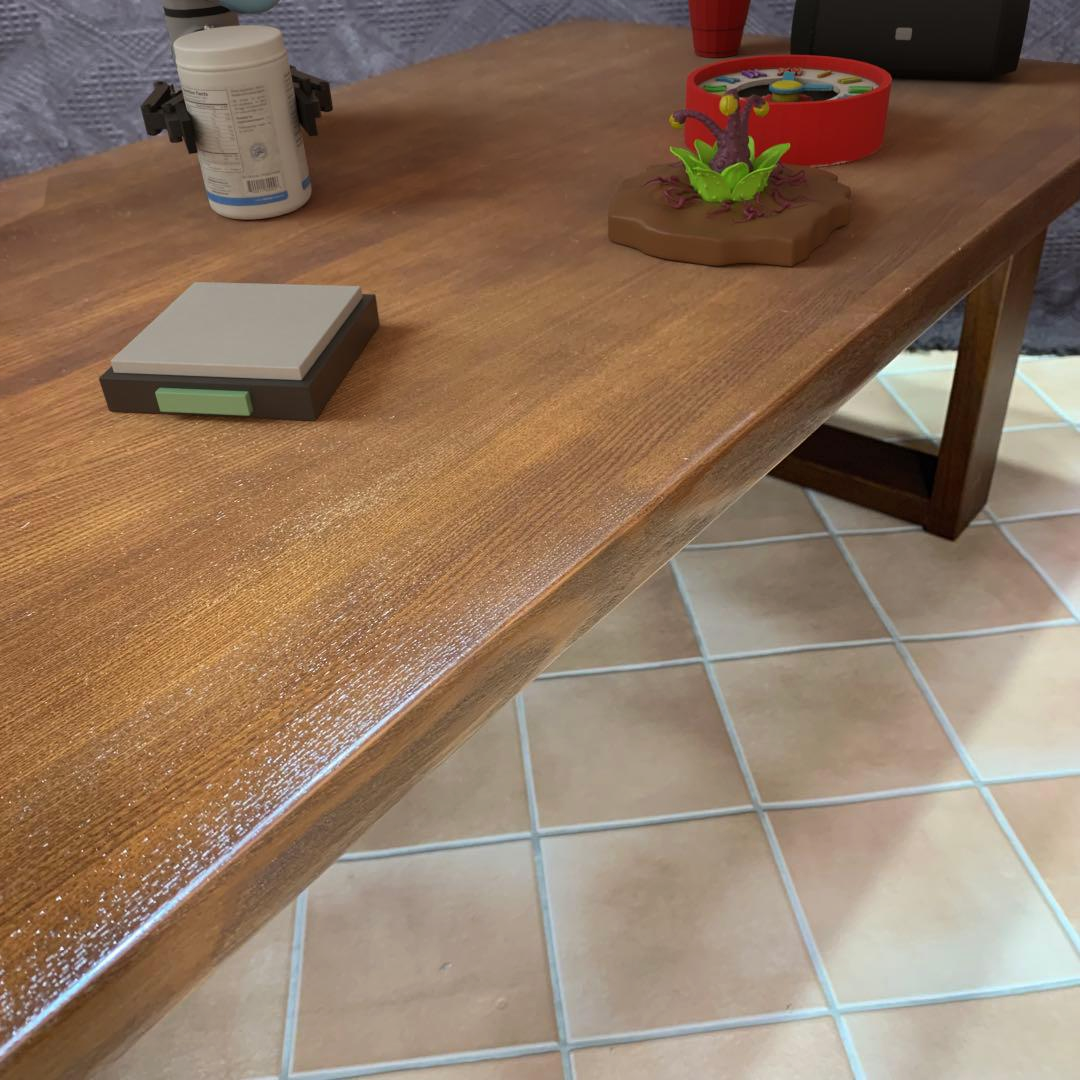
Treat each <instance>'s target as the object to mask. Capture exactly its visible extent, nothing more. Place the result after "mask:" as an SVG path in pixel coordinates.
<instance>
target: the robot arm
mask: <svg viewBox="0 0 1080 1080" xmlns="http://www.w3.org/2000/svg"><path fill="white" fill-rule="evenodd" d="M280 1H281V0H161V3H162V8H163V12H164V19H165V24H166V28H167V32H168V36H169V41H170V43H169V47H170V52H171V56H172V62H173V65H174V68H175V70H177V64H176V55H175V51H174V46H173V44H174V42H175V40H177V39H178V38H180V37H182V36H184V35H187V34H190V33H193V32H197V31H202V30H206V29H212V28H219V27H227V26H241V23H240V20H239V15H247V14H250V15H255V14H256V15H258V14H263V13H265V12H268V11H270V10H271V9H273V8H274V7H276V6H277V5H278V3H279V2H280ZM238 14H239V15H238ZM289 65H290V70H291V76H292V82H293V87H294V93H295V99H296V104H297V110H298V116H299V121H300V127H301V128H302V129H303V130H304V131H305V133H306V134H307V135H308V137H309V138H310V137H317V136H319V133H318V127H317V121H316V119H320V118H322V112H324V113H329V112H332V111H334V106H333V105H334V104H333V100H332V93H331V86H330V82H329V81H327V80H325V79H323V78H319V77H317V76H314V75H311V74H308V73H306V72H303V71H300V70H298V68H297V67H296V66H295V65H292V64H289ZM153 88H154V90H152V91H151V93H150V94H149V95H148V96H147V97H146V98H145V100H144V101H143V103H142V104H141V105H140V106H139V108H140V112H141V115H142V119H143V120H142V121H143V124H144V127H145V131H146V134H147V136H149V137H150V136H152V137H155V136H158V135H160V134H161V133H162V132H163V131H164V130H166V131H167V133H168V134H167V135H168V139H169V143H171V144H177V143H182V142H184V145H185V148H186V150H187V153H188V154H189V155H192V154H197V153H198V151H197V147H196V142H195V138H194V133H193V129H192V125H191V120H190V118H189V115H188V112H187V108H186V104H185V100H184V96H183V92H182V87H181V86H180V87H176V88H175V86H174V83H171V82H170V83H167V82H166V81H163V80H157V81H156V82H153Z"/></svg>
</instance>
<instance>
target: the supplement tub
mask: <svg viewBox="0 0 1080 1080" xmlns="http://www.w3.org/2000/svg"><path fill="white" fill-rule="evenodd" d="M283 36H284V35H283V32H282V31H281V30H280V29H279V28H277V27H274V26H269V25H258V24H243V25H241V24H240V26H227V27H219V28H212V29H206V30H202V31H197V32H193V33H190V34H187V35H184V36H182V37H180V38H178V39H177V40H175V42H174V44H173V46H174V51H175V55H176V64H177V69H176V70H177V74H178V78H179V84H180V88H181V87H182V92H183V96H184V100H185V104H186V108H187V112H188V115H189V118H190V120H191V125H192V129H193V133H194V138H195V142H196V147H197V151H198V153H196V154H197V158H198V162H199V166H200V171H201V174H202V178H203V183H204V187H205V191H206V195H207V199H208V203H209V206H210V208H211V209H212V210H213V211H214V212H215V213H216V214H218V215H219V216H222V217H224V218H228V219H234V220H246V221H247V220H248V221H249V220H262V219H270V218H275V217H279V216H283V215H286V214H287V215H288V214H289V213H293V212H294V211H297V210H298V209H301V208H302V207H303V206H304V205H306V203H307V202H308V201H309V199H310V198H311V195H312V184H311V178H310V177H311V176H310V172H309V166H308V160H307V157H306V156H307V155H306V149H305V144H304V138H303V133H302V126H301V124H300V121H299V116H298V110H297V104H296V99H295V93H294V87H293V82H292V76H291V70H290V65H291V64H290V61H289V56H288V52H287V47H286V46H285V41H284V37H283Z"/></svg>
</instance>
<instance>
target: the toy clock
mask: <svg viewBox="0 0 1080 1080" xmlns="http://www.w3.org/2000/svg"><path fill="white" fill-rule="evenodd" d="M892 81H893V78H891V76H890V74H889V73H888V72H887V71H885V70H884V69H882V68H879V67H877V66H875V65H871V64H868V63H865V62H861V61H856V60H851V59H844V58H837V57H828V56H814V55H790V54H772V55H771V54H770V55H757V56H745V57H738V58H732V59H726V60H722V61H716V62H713V63H709V64H706V65H704V66H701V67H698V68H697V69H695V70H693V71H692V72H690V73H689V74H688V75H687V77H686V84H685V85H686V87H685V110H695V111H698V112H702V113H703V114H706V115H708V117H710V118H711V119H712V120H714V121H715V123H716V124H717V125H718V126H719V127H720V128H722V129H723V130H724V131H725V128H726V126H728V117H729V115H728V116H726V115H724V114H723V113H722V112H721V111H720V100H721V99H722V97H723V96H724V94H725V93H726V92H727V91H728V90H730V89H734V88H736V89H737V93H738V96H739V97H740V99H739V104H740V106H741V109H740V115H741V111H742V110H743V108H744V104H746V101H747V100H748V99H749V97H750V96H752V95H753V94H754V95H757V96H760V97H761V98H763V99H764V100H765V101H767V103H768V104H769V112H768V113H767V115H765V116H764V117H760V116H757V115H756V113H755V111H754V104H752V107H751V108H752V109H751V111H750V115H749V123H748V136H751V137H752V139H753V141H754V157H756V158H758V157H759V156H760V155H761V154H762V153H763V152H765V151H766V150H768V149H769V148H771V147H773V146H776V145H780V144H786V143H790V148H789V149H788V150H787V151H786V152H785V153H784V154H783V155H782V156H781V157H780V159H779V160H780V161H781V163H784V164H790V165H799V166H808V167H813V168H820V167H829V166H836V165H841V164H846V162H847V163H849V162H853V161H857V160H861V159H864V158H865V157H868V156H870V155H873V154H874V153H876V152H877V151H879V150H880V149H881V147H882V146H883V145H884V141H885V133H886V126H887V120H888V119H887V118H888V111H889V103H890V97H891V89H892ZM696 139H698V140H701V141H703V142H704V143H706V144H708V145H710V146H711V147H712V148H713V147H714V145H715V142H716V138H715V137H714V135H713V133H712V132H711V131H710V130H709V129H708V128H707V127H706V126H705V125H704V124H703V123H702V122H701V121H699V120H697V119H695V118H692V117H687V118H686V121H685V124H684V143H685V145H686V147H687V148H688V149H690V151H692V152H694V153H696V154H697V155H698V152H697V150H696V148H695V145H694V142H695V140H696ZM840 163H841V164H840ZM835 164H836V165H835Z"/></svg>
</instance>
